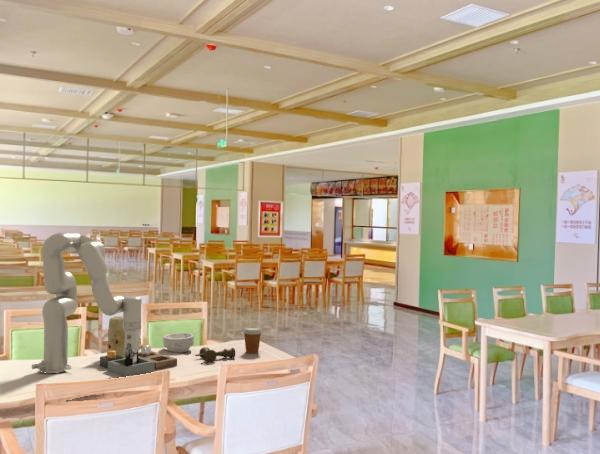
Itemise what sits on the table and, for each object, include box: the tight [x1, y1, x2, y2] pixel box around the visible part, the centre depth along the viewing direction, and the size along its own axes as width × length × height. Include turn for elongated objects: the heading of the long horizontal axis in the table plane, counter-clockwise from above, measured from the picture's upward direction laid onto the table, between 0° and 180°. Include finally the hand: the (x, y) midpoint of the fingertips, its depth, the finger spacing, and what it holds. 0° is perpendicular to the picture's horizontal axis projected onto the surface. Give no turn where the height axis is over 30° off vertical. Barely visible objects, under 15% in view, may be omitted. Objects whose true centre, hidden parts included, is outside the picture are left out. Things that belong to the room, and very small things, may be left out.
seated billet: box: [140, 344, 152, 357], centre depth 254 cm, size 4×4×7 cm
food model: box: [107, 315, 126, 358], centre depth 260 cm, size 10×7×20 cm
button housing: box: [99, 355, 123, 370], centre depth 243 cm, size 7×7×5 cm
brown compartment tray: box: [138, 350, 178, 371], centre depth 250 cm, size 22×11×4 cm, turn 48°
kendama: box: [194, 346, 236, 363], centre depth 263 cm, size 6×10×20 cm
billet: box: [130, 353, 137, 365], centre depth 236 cm, size 4×4×7 cm
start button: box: [106, 350, 116, 359], centre depth 243 cm, size 4×4×4 cm
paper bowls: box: [162, 332, 195, 354], centre depth 279 cm, size 15×15×8 cm
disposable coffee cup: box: [243, 326, 263, 354], centre depth 280 cm, size 10×10×12 cm
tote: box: [107, 357, 155, 377], centre depth 236 cm, size 14×14×5 cm
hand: (131, 365), depth 236 cm, fingers open, 9 cm apart
